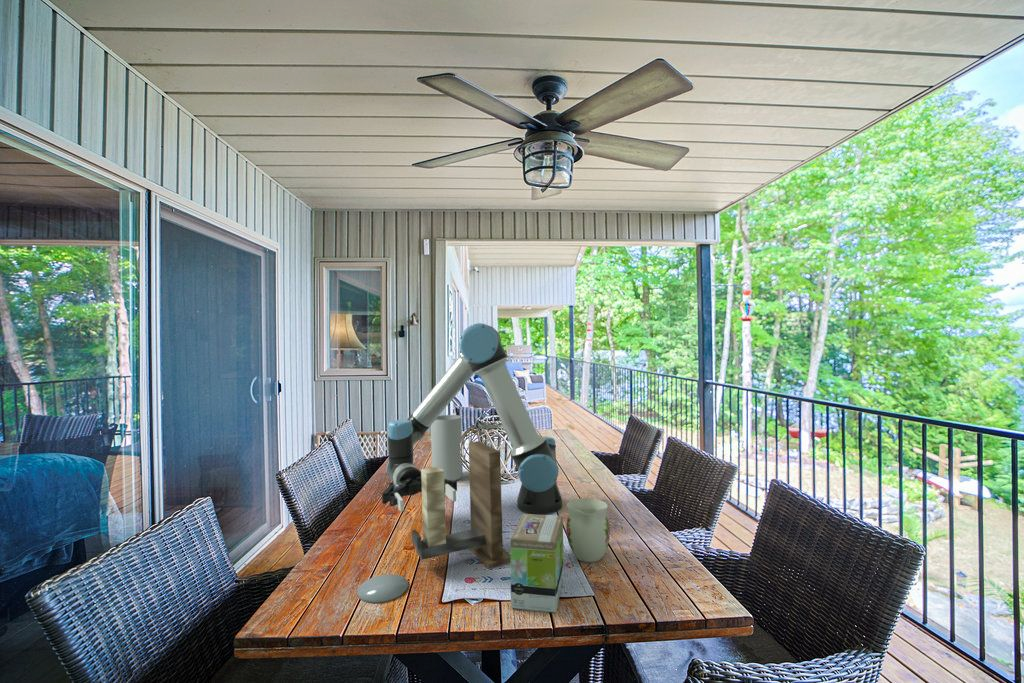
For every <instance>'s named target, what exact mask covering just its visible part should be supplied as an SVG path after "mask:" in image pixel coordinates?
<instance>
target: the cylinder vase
mask: <svg viewBox="0 0 1024 683" xmlns="http://www.w3.org/2000/svg"><path fill="white" fill-rule="evenodd" d="M462 434H463V432H462V416H461V415H458V414H443V415H442V414H440V415H439V416H438V417H437V419H436V420H435V421H434V422H433V423H432V425H431V426H430V441H431V442H430V444H431V446H430V447H431V468H433V467H440V468H441V469H442V470H444V479H447V480H452V481H456V482H457V481H458V480H460V479H462V477H464V476H463V475H464V474H463V473H464V472H463V470H464V469H463V468H464V467H463V463H462V464H461V461H460V455H459V454H460V443H461V439H462V440H463V437H462V436H463V435H462Z"/></svg>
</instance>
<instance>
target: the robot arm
mask: <svg viewBox="0 0 1024 683" xmlns="http://www.w3.org/2000/svg"><path fill="white" fill-rule="evenodd" d="M458 347H459V351H458V357H457V358H456V360H455V361H454V362H453V363H452V365H451V366H450V367H449V368H448V370H446V372H445V373H444V374H443V376H442V377H440V379H439V380H438V381H437V383H436V384H435V385H434V386H433V387H432V388H431V390H430V391H429V392H428V394H427V395H426V396H425V397H424V399H423V400H422V401H421V402H420V404H419V405H418V406H417V407H416V408H415V409H414V411H413V412H412V413H411V414H410V415H409V417H408V418H407V419H397V420H392V421H390V422H389V423H388V424H387V449H388V451H387V452H388V462H387V464H386V473H387V474H386V475H388V478H389V479H390V480H391V481H392V482H389V483H388V487H386V489H385V490H383V492H382V493H381V501H382V504H383V505H386V504H388V502H389V507H395V506H396V508H397V509H398V510H399V511H400V512H404V510H405V509H404V499H403V497H407V496H414V495H415V496H416V495H417V494H419V493H422V479H421V470H420V469H418V468H417V467H416V466H415V465H414V444H416V443H417V442H418V441H420V440H421V439H422V438H423V437H424V436H425V434H426V432H427V431H428V430H429V428H431V425H432V423H433V422H434V421H435V420H436V419H437V417H438V416H441V415H442V412H443V411H444V410H445V409H446V408H447V407H448V405H449V404H450V403H451V401H453V399H454V398H455V397H456V396H457V395H458V394H459V392H460V391H461V390H462V389H463V387H464V386H465V385H466V384H467V383H468V382H469V380H470V379H471V377H472V376H473V375H477V376H478V377H480V379H481V381H482V384H483V385H484V387H485V390H486V393H487V394H488V396H489V399H490V400H491V403H492V405H493V407H494V409H495V411H496V413H497V416H498V418H499V419H500V423H501V425H502V427H503V428H504V431H505V432H506V435H507V437H508V439H509V442H510V443H511V446H512V450H511V452H510V456H511V457H512V459H513V463H514V464H515V466H516V469H517V471H518V480H519V481H520V483H521V486H520V488H519V492H518V496H517V498H516V499H517V500H516V501H517V502H516V506H517V508H518V510H519V511H521V512H523V513H525V514H535V515H548V514H552V513H555V512H558V511H560V510H561V509H562V508H563V498H562V494H561V493H560V489H559V486H558V483H557V479H558V477H559V466H558V460H557V457H556V456H557V455H556V454H557V453H556V451H557V450H556V448H557V445H556V440H555V438H554V437H549V436H547V437H546V436H541V435H539V434H538V432H537V429H536V428H535V426H534V423H533V421H532V419H531V416H530V415H529V412H528V410H527V408H526V406H525V404H524V401H523V399H522V398H521V395H520V393H519V391H518V389H517V387H516V385H515V383H514V381H513V378H512V376H511V373H510V371H509V369H508V368H507V365H506V363H507V361H508V356H507V354H506V351H505V349H504V347H503V344H502V339H501V335H500V334H499V332H498V331H497V330H496V329H495V328H494V327H493V326H491V325H488V324H485V323H481V322H480V323H479V322H478V323H474V324H471V325H469V326H467V327H466V328H465V329H464V330H463V331H462V332H461V334H460V336H459V341H458ZM444 489H445V496H446V497H448V498H449V499H450V500H451V501H452V502H454V503H455V502H457V492H458V483H457V480H456V481H452V480H447V479H444Z"/></svg>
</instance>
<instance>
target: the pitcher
mask: <svg viewBox="0 0 1024 683" xmlns="http://www.w3.org/2000/svg"><path fill="white" fill-rule="evenodd" d="M608 505H609V504H608V503H607V502H605V501H604V500H601V499H596V498H589V497H587V498H586V497H585V498H584V497H583V498H582V497H581V498H575V499H572V500H569V501H568V502H567V504H566V507H567V510H568V511H567V512H568V516H567V520H566V527H565V528H566V529H565V530H566V537H567V542H568V545H569V548H570V550H571V552H572V554H573V555H574V556H575V558H576V559H577V560H579V561H582V562H585V563H596V562H599V561H601V560H602V558H603V557H604V555H605V554H606V552H607V550H608V547H609V543H610V537H611V536H610V534H611V530H610V527H611V526H610V522H609V519H608V516H607V513H608V508H609V506H608Z"/></svg>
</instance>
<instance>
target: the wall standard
mask: <svg viewBox="0 0 1024 683" xmlns="http://www.w3.org/2000/svg"><path fill="white" fill-rule="evenodd" d="M468 464H469V465H468V467H469V468H468V469H469V471H468V472H469V473H468V474H469V501H470V502H469V504H470V505H469V506H470V508H469V509H470V510H469V511H470V512H469V513H470V529H468V530H467V529H466V530H462V531H458V532H454V533H449V534H446V544H441V545H437V546H433V547H428V546H427V545H426V544H425V542H424V541H423V539H422V536H421V535H420V534H419V532H418V531H417V530H416V529H414V530H411V543H412V545H413V546H414V547H415V552H416V554H417V555H418V557H419V558H420V560H423V561H424V560H427V559H431V558H436V557H440V556H443V555H447V554H452V553H456V552H460V551H464V550H468V549H469V550H470V551H471V552H472V553H473V554H474V555H475V557H476V558H477V559H478V560H479V561H480V562H481V563H482V564H483V565H484V566H485V567H486V568H487V569H488V570H489V569H492V568H497V567H501V566H504V565H508V564H511V553H510V552H508V551H507V550H506V549H505V548H504V546H503V545H504V542H503V514H502V513H503V510H502V509H503V508H502V505H503V504H502V473H501V471H502V470H501V467H502V466H501V451H500V450H498V449H496V448H494V447H492V446H489V445H487V444H486V443H483V442H481V441H473V442H468Z"/></svg>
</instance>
